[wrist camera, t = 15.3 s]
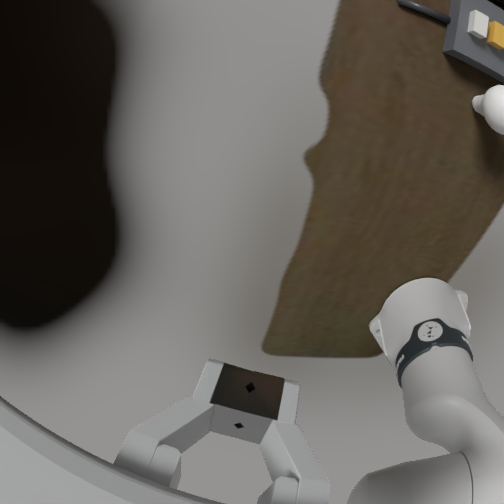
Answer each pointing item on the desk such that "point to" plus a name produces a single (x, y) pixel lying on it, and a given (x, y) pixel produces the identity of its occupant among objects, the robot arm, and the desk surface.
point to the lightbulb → (492, 107)
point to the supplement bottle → (498, 2)
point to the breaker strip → (471, 43)
